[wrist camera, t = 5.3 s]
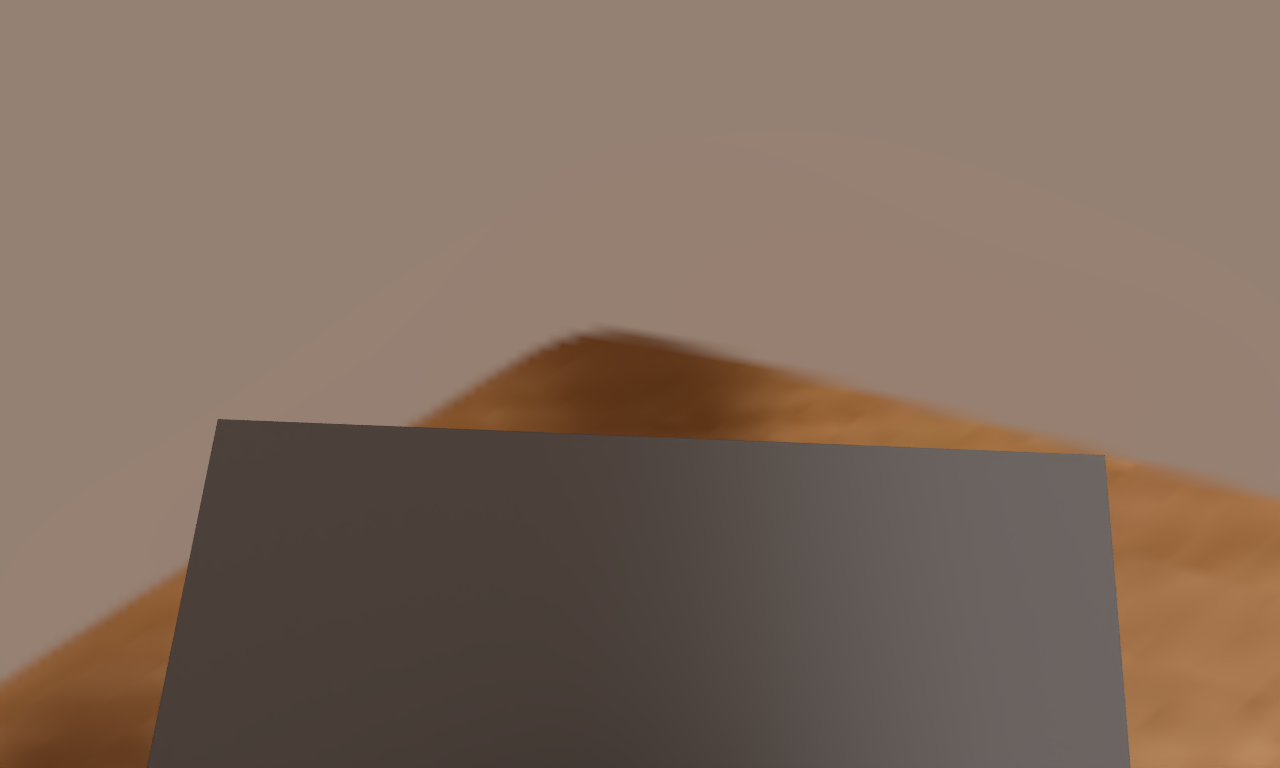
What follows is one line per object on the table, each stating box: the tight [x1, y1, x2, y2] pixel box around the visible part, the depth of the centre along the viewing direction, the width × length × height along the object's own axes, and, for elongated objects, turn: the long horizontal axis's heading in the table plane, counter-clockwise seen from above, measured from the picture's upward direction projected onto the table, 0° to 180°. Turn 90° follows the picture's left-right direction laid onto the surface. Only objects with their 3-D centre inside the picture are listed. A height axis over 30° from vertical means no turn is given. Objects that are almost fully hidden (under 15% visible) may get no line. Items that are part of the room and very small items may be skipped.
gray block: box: [147, 419, 1130, 768], centre depth 10 cm, size 6×6×12 cm
